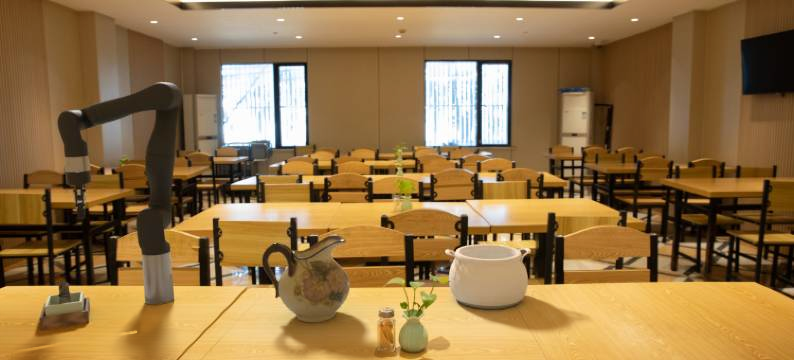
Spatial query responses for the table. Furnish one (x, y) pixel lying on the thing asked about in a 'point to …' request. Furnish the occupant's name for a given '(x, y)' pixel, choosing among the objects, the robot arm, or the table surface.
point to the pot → (488, 276)
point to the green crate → (65, 304)
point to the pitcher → (310, 280)
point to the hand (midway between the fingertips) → (81, 217)
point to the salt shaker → (64, 293)
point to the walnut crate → (65, 318)
